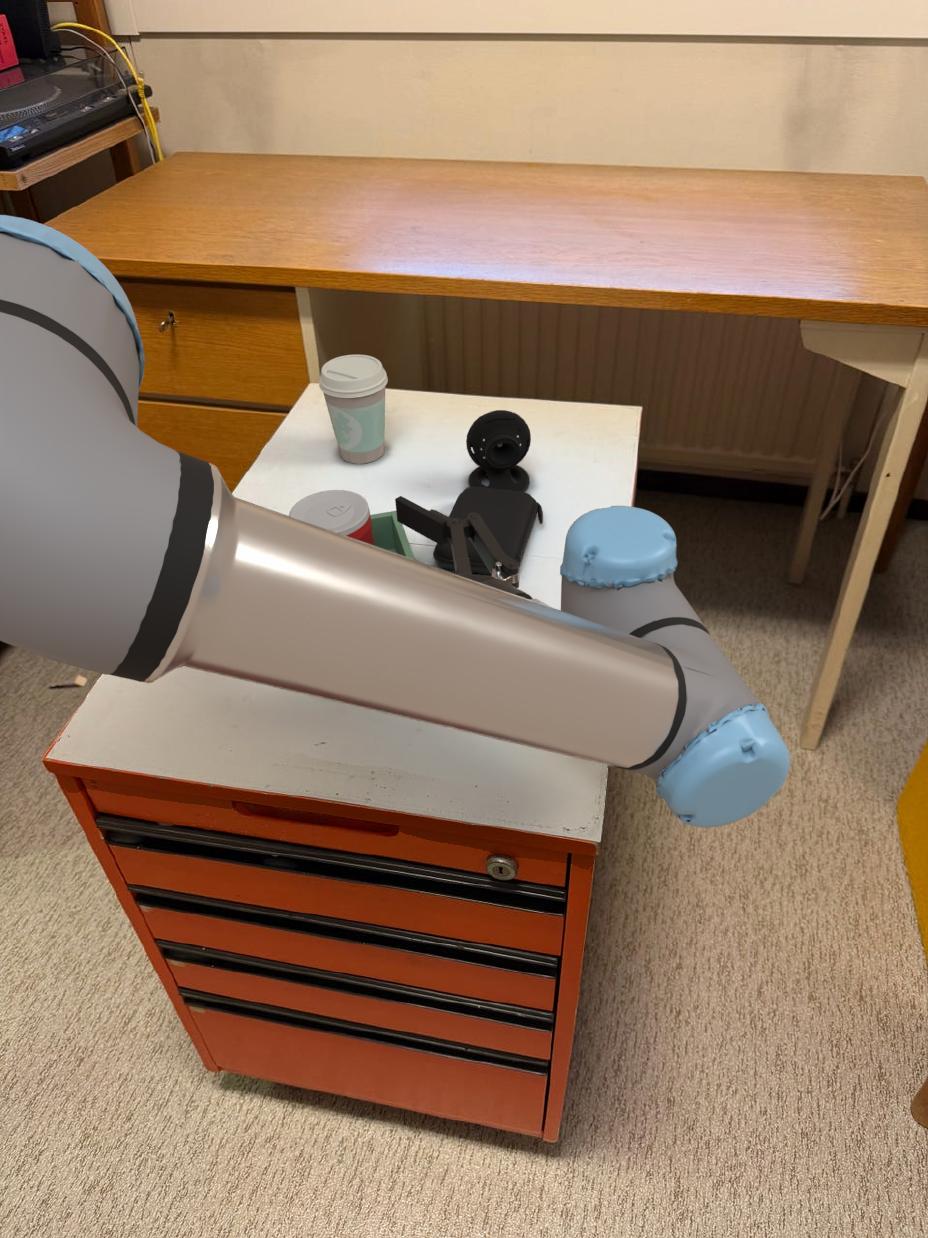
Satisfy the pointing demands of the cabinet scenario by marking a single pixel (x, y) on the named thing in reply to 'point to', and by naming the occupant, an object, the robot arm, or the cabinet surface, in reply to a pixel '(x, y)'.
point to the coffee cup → (356, 405)
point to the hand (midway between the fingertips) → (347, 538)
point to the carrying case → (494, 523)
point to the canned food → (337, 513)
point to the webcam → (499, 450)
